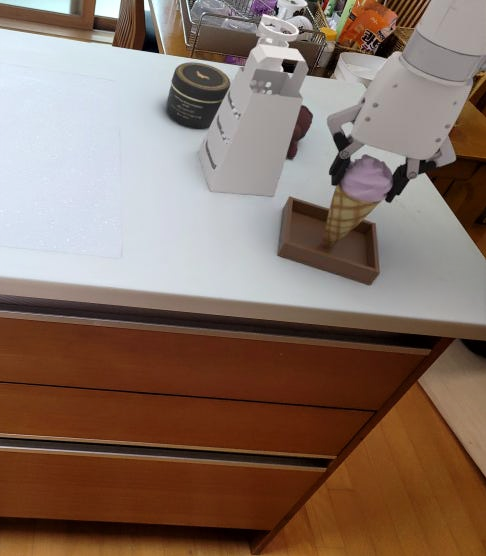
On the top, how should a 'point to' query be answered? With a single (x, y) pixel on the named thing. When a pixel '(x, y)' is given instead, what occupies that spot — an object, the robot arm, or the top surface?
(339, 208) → the ice cream cone
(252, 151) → the grater
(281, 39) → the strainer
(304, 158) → the top surface
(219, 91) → the jar
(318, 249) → the tray
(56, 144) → the top surface
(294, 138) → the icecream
